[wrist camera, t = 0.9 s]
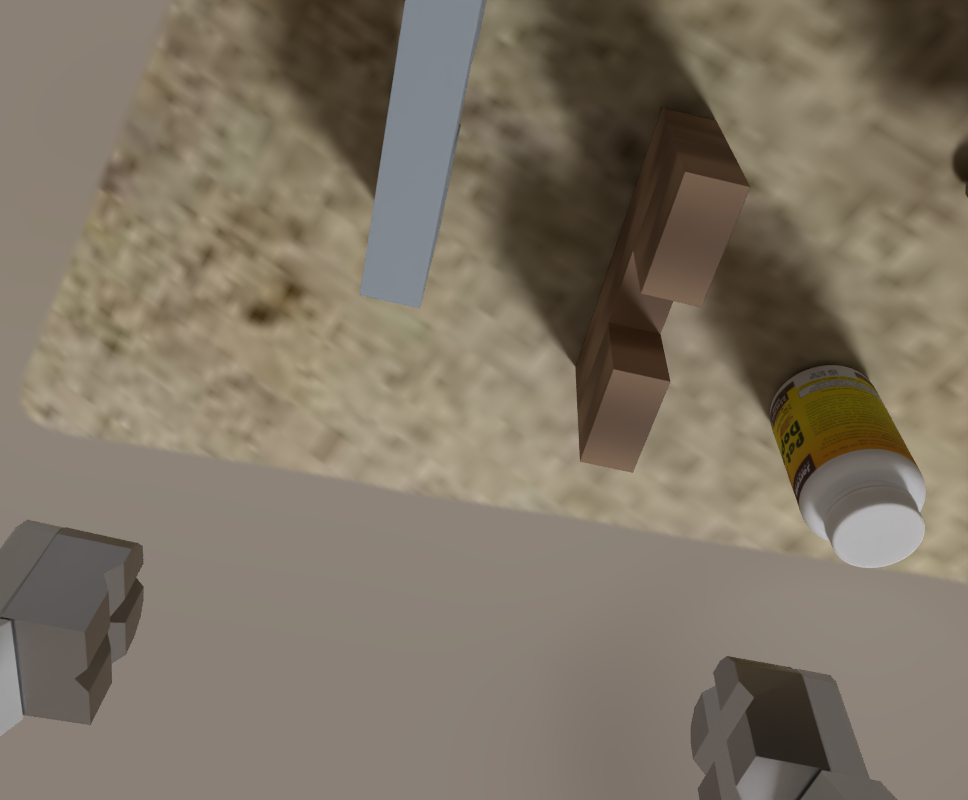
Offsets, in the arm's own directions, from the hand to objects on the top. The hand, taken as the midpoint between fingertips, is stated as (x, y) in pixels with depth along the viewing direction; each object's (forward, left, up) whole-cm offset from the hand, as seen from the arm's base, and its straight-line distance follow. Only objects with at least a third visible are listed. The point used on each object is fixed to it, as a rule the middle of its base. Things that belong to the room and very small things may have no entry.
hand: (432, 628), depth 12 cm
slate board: (+1, -3, -31) cm, 32 cm away
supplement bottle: (+13, +20, -32) cm, 40 cm away
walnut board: (+7, +8, -31) cm, 33 cm away
